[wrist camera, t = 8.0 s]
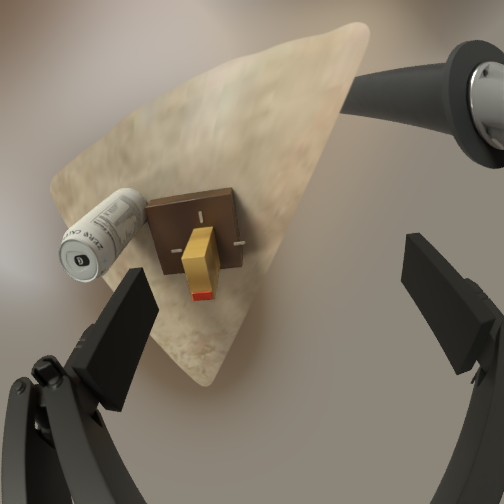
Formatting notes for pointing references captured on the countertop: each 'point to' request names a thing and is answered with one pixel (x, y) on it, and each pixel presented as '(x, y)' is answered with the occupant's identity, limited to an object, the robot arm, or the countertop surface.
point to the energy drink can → (102, 235)
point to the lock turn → (202, 264)
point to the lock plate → (194, 226)
